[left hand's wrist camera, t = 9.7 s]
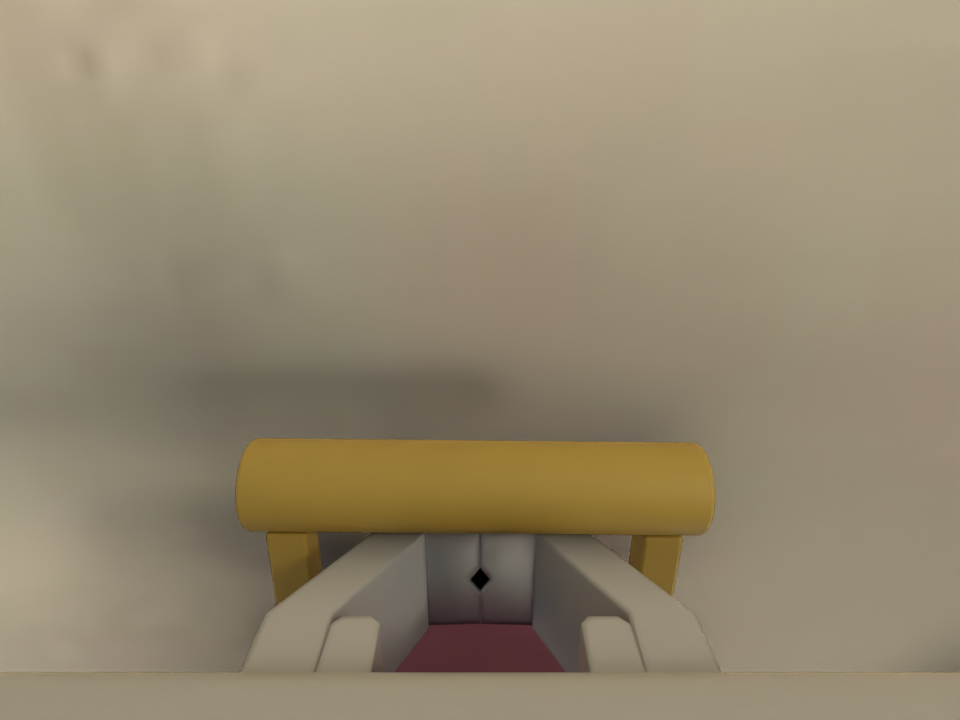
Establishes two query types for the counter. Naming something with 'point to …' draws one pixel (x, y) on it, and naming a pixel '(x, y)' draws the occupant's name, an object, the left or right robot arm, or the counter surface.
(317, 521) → the drawer
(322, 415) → the counter surface
